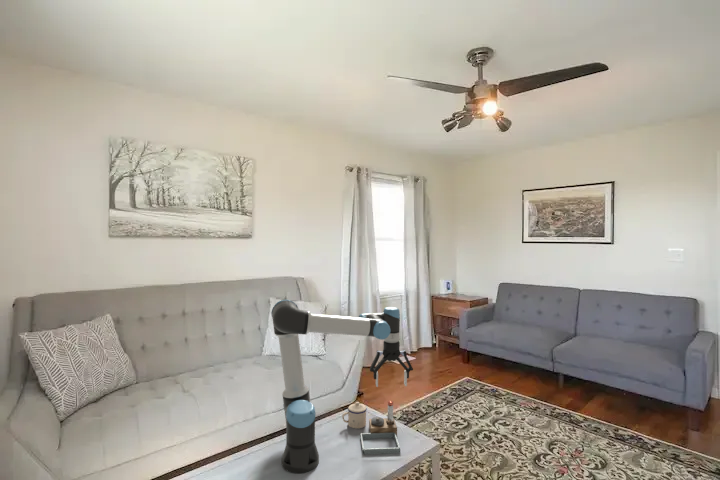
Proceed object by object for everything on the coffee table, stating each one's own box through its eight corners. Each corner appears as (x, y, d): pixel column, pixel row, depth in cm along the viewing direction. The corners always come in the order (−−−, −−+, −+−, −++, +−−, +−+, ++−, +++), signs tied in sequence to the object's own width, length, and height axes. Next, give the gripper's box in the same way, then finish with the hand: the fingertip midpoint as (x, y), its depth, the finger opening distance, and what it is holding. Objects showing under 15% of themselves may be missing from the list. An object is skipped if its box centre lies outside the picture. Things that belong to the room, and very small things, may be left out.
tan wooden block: (371, 438, 180) (371, 423, 180) (369, 428, 189) (369, 414, 189) (396, 438, 181) (397, 422, 181) (393, 428, 190) (393, 413, 189)
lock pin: (387, 432, 184) (388, 403, 183) (386, 429, 186) (387, 400, 186) (393, 432, 184) (393, 403, 183) (392, 429, 186) (392, 400, 186)
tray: (362, 456, 166) (362, 449, 166) (360, 439, 179) (360, 433, 179) (400, 455, 167) (400, 448, 167) (395, 438, 180) (395, 432, 180)
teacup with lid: (363, 420, 197) (363, 397, 197) (368, 429, 188) (368, 405, 188) (340, 423, 194) (340, 400, 194) (344, 432, 185) (344, 408, 185)
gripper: (365, 343, 179) (365, 389, 180) (419, 342, 181) (419, 387, 182) (364, 338, 186) (364, 382, 187) (415, 337, 188) (415, 381, 189)
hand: (391, 385), depth 184 cm, fingers open, 13 cm apart
